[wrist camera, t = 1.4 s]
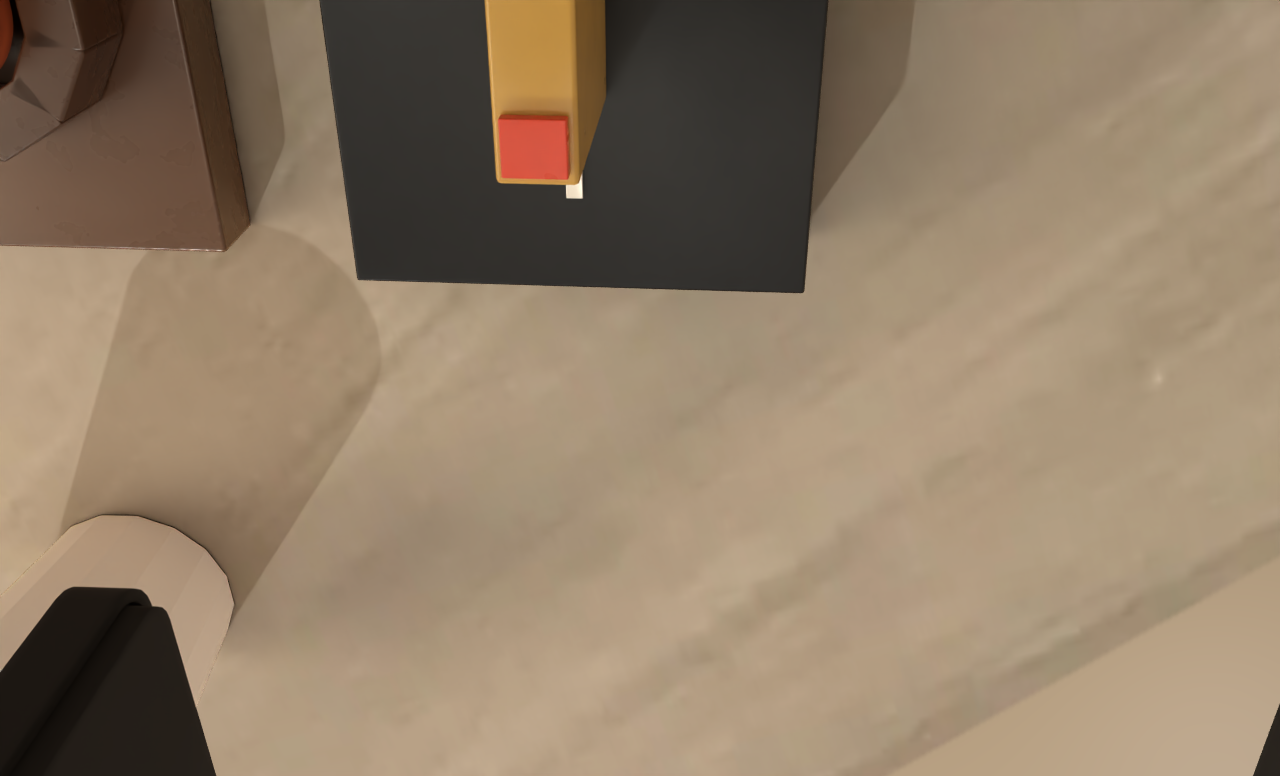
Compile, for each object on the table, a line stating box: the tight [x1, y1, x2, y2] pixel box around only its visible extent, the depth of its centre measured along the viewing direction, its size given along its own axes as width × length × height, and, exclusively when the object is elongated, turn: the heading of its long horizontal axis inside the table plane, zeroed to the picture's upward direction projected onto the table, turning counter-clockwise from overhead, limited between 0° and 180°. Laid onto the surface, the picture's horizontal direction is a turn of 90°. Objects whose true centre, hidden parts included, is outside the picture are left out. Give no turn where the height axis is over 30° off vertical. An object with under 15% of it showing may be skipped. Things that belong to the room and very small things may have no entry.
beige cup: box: [0, 515, 234, 707], centre depth 32 cm, size 7×7×7 cm
